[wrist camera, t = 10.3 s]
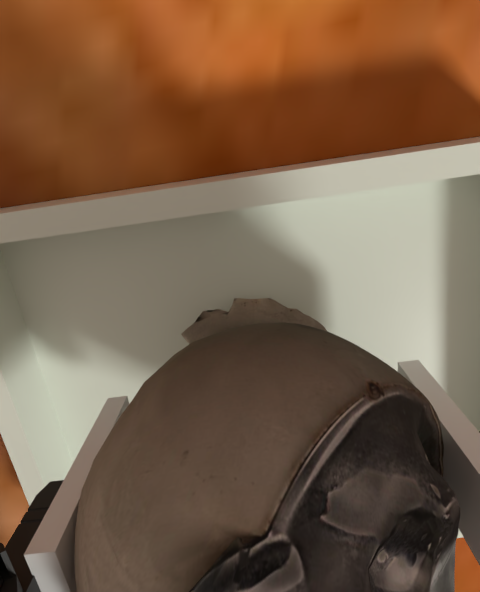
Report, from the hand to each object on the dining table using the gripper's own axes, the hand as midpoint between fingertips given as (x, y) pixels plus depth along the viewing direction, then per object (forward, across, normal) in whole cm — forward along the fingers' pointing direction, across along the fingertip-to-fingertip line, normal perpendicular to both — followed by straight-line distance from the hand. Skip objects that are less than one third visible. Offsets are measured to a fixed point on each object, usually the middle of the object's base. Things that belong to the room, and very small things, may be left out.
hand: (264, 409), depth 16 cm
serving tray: (+4, 0, 0) cm, 4 cm away
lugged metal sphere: (+2, 0, 0) cm, 2 cm away
